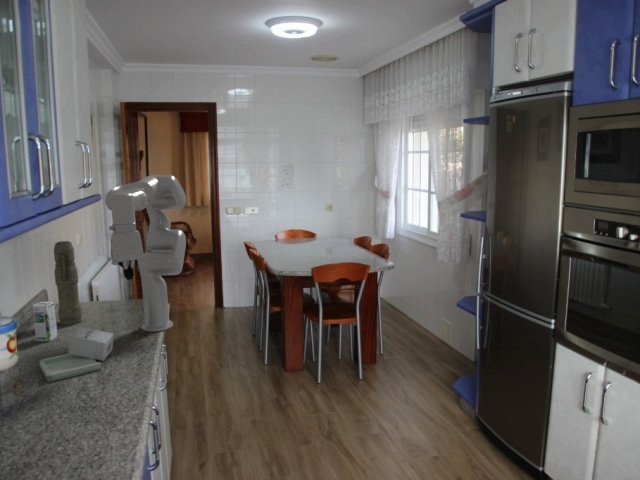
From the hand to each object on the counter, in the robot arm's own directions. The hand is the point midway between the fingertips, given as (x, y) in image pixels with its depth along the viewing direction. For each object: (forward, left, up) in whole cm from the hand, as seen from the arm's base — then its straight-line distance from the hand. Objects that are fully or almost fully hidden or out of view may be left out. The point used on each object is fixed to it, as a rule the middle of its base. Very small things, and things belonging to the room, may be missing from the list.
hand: (129, 278), depth 184 cm
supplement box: (0, -9, -23) cm, 25 cm away
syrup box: (-35, -23, -28) cm, 50 cm away
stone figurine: (-51, -11, -28) cm, 59 cm away
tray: (+1, -22, -27) cm, 35 cm away
